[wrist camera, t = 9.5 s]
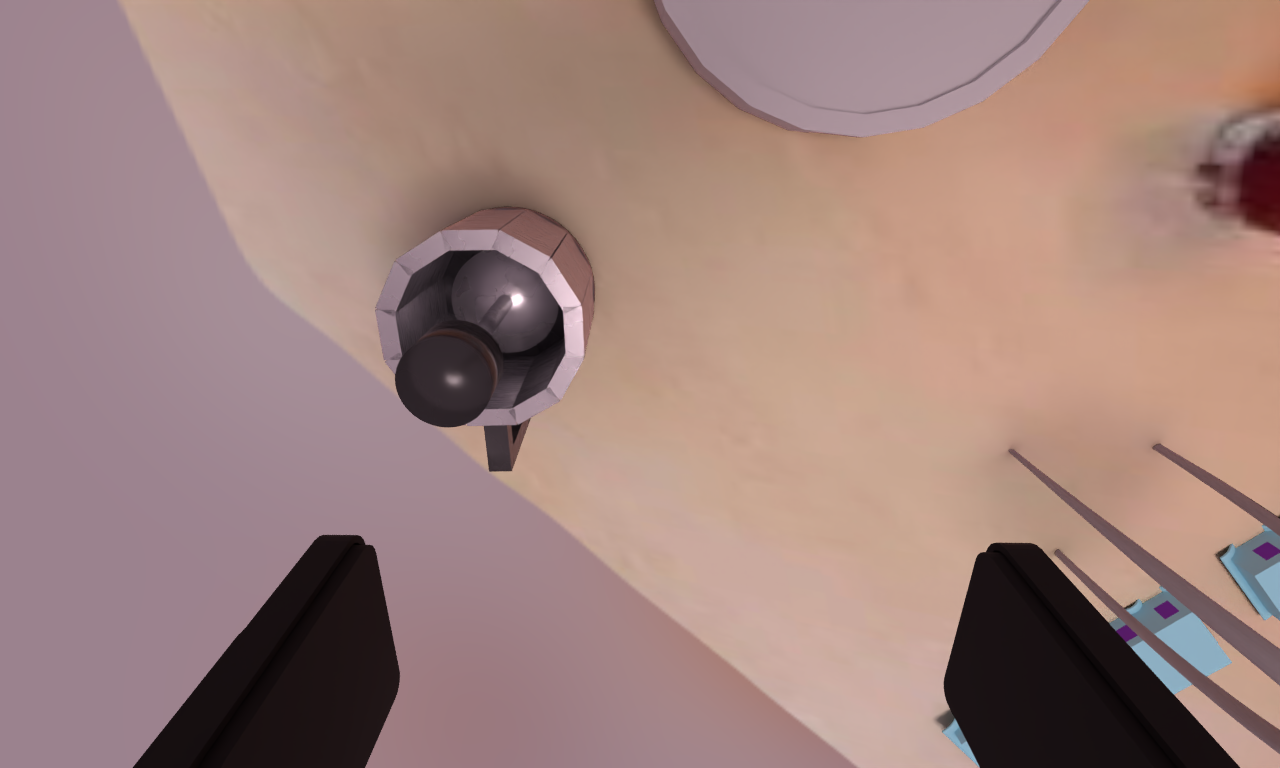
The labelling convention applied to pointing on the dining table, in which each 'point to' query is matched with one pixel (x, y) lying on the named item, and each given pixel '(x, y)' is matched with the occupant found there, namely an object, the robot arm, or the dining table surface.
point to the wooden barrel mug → (528, 376)
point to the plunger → (475, 340)
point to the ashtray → (862, 56)
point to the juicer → (1187, 598)
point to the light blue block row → (1193, 619)
